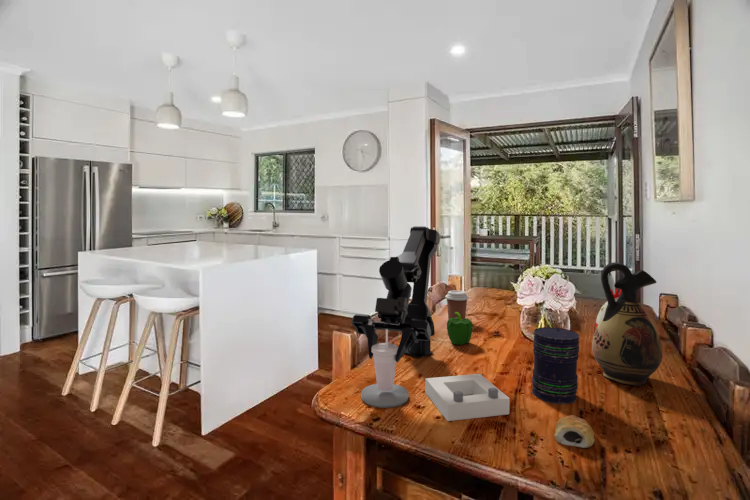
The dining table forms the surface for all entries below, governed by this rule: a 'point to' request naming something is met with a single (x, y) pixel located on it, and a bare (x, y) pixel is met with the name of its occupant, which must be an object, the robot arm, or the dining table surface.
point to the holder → (466, 397)
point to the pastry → (574, 432)
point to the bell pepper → (459, 329)
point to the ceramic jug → (626, 331)
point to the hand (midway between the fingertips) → (383, 359)
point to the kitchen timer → (603, 309)
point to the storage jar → (555, 365)
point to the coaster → (384, 396)
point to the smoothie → (385, 364)
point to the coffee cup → (456, 303)
